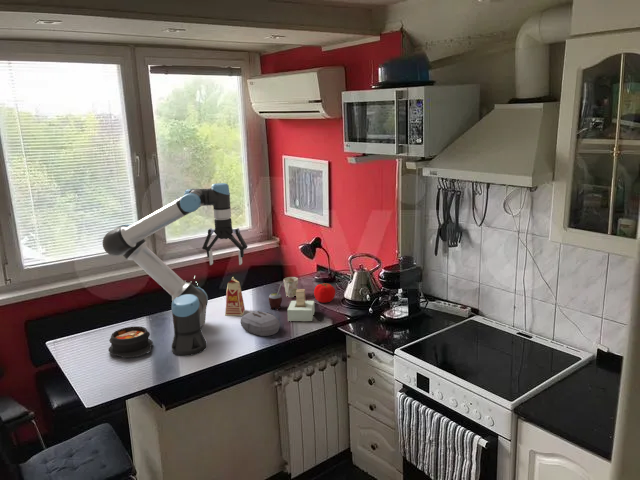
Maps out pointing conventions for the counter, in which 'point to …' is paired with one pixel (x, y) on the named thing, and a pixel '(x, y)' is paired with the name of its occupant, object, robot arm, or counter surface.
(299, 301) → the peg
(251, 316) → the small grey backpack
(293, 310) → the socket block
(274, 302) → the mate gourd
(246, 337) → the counter surface
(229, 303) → the milk carton
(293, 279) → the mug
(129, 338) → the casserole
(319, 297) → the tomato
